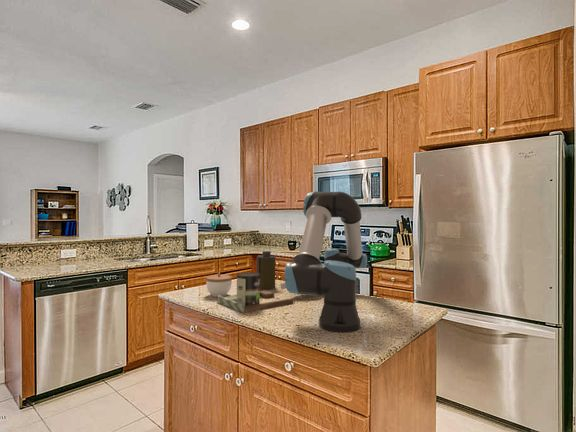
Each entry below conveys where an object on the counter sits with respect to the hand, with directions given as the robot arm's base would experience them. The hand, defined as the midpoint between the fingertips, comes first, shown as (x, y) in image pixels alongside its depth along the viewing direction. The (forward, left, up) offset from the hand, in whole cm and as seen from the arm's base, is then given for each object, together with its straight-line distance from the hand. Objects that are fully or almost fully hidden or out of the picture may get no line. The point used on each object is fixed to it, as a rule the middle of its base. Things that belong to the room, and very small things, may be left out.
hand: (281, 285), depth 171 cm
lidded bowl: (+26, +20, -7) cm, 33 cm away
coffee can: (0, +19, -7) cm, 20 cm away
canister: (+27, -9, -7) cm, 29 cm away
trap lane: (+2, +13, -7) cm, 14 cm away
